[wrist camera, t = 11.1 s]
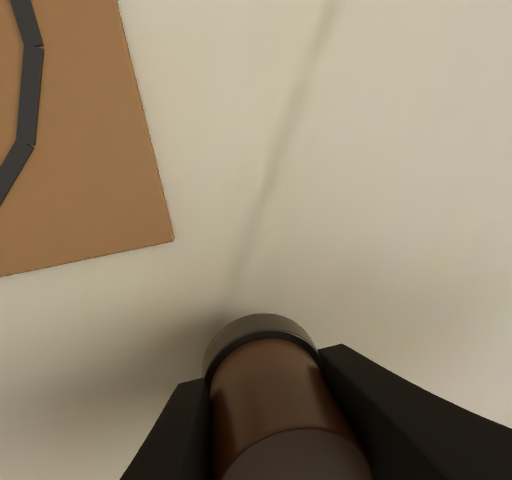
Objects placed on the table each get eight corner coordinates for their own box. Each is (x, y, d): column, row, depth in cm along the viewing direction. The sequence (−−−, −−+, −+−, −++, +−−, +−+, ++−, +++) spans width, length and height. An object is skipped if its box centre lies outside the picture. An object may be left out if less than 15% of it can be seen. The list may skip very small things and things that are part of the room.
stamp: (334, 379, 10) (412, 511, 6) (239, 436, 10) (259, 604, 6) (282, 291, 9) (336, 379, 6) (179, 352, 9) (159, 484, 5)
